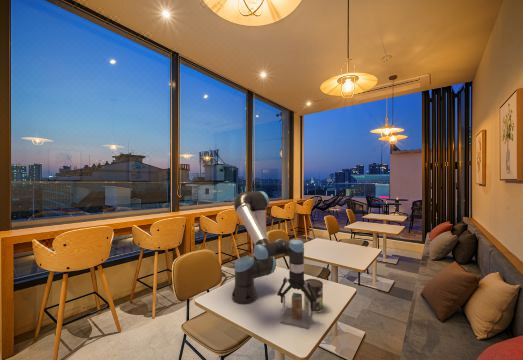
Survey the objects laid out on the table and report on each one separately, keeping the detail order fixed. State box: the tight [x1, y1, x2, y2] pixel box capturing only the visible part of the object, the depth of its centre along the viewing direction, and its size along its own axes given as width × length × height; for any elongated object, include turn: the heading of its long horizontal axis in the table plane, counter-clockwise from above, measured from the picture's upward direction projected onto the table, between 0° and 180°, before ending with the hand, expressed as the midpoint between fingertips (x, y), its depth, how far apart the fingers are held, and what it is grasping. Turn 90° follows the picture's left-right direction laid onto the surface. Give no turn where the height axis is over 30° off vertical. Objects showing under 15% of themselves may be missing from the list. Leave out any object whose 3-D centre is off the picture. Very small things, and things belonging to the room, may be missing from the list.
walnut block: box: [291, 292, 303, 320], centre depth 119 cm, size 4×4×11 cm
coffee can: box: [303, 278, 324, 314], centre depth 129 cm, size 10×10×14 cm
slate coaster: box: [279, 306, 313, 330], centre depth 120 cm, size 14×14×1 cm
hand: (296, 311), depth 119 cm, fingers open, 13 cm apart
